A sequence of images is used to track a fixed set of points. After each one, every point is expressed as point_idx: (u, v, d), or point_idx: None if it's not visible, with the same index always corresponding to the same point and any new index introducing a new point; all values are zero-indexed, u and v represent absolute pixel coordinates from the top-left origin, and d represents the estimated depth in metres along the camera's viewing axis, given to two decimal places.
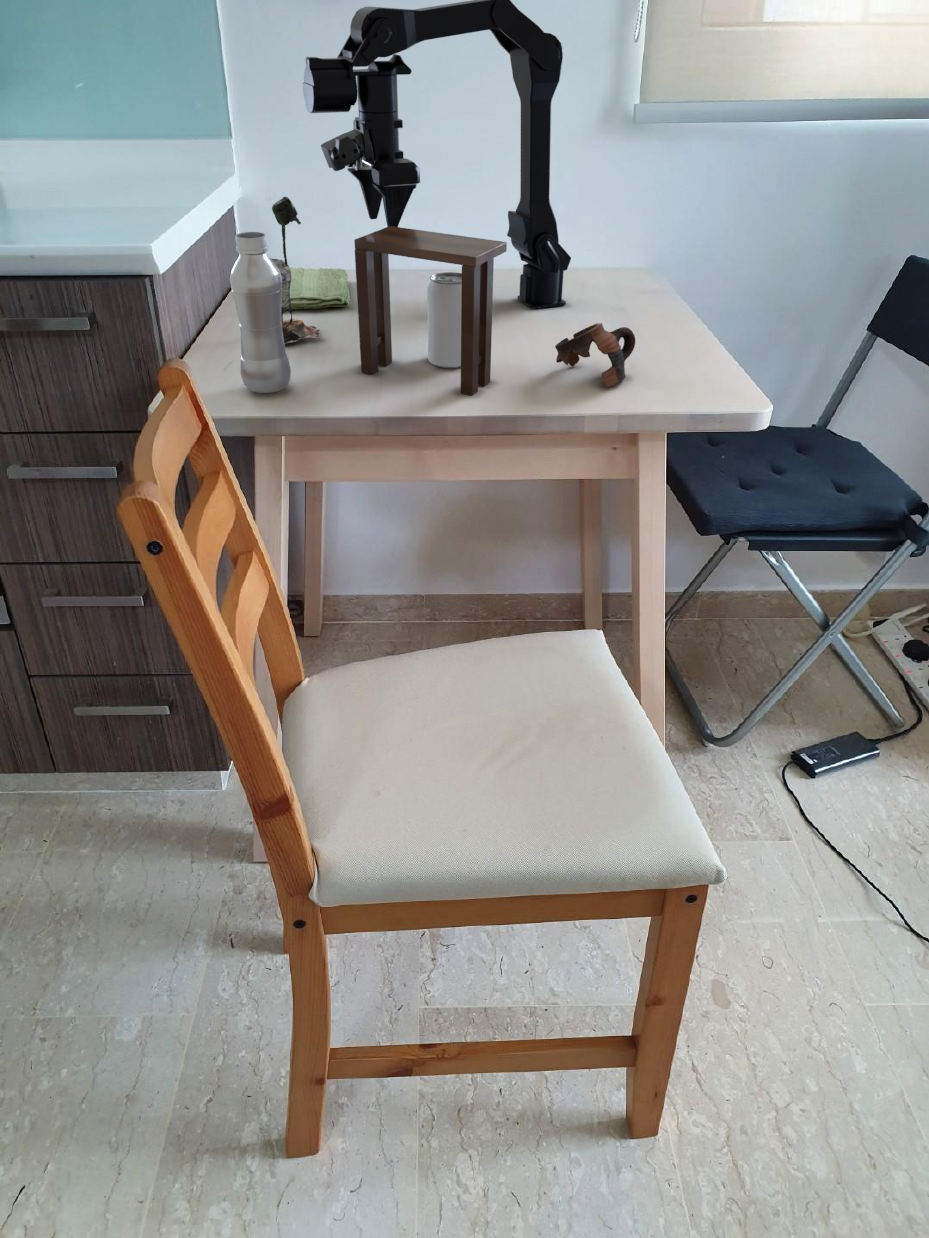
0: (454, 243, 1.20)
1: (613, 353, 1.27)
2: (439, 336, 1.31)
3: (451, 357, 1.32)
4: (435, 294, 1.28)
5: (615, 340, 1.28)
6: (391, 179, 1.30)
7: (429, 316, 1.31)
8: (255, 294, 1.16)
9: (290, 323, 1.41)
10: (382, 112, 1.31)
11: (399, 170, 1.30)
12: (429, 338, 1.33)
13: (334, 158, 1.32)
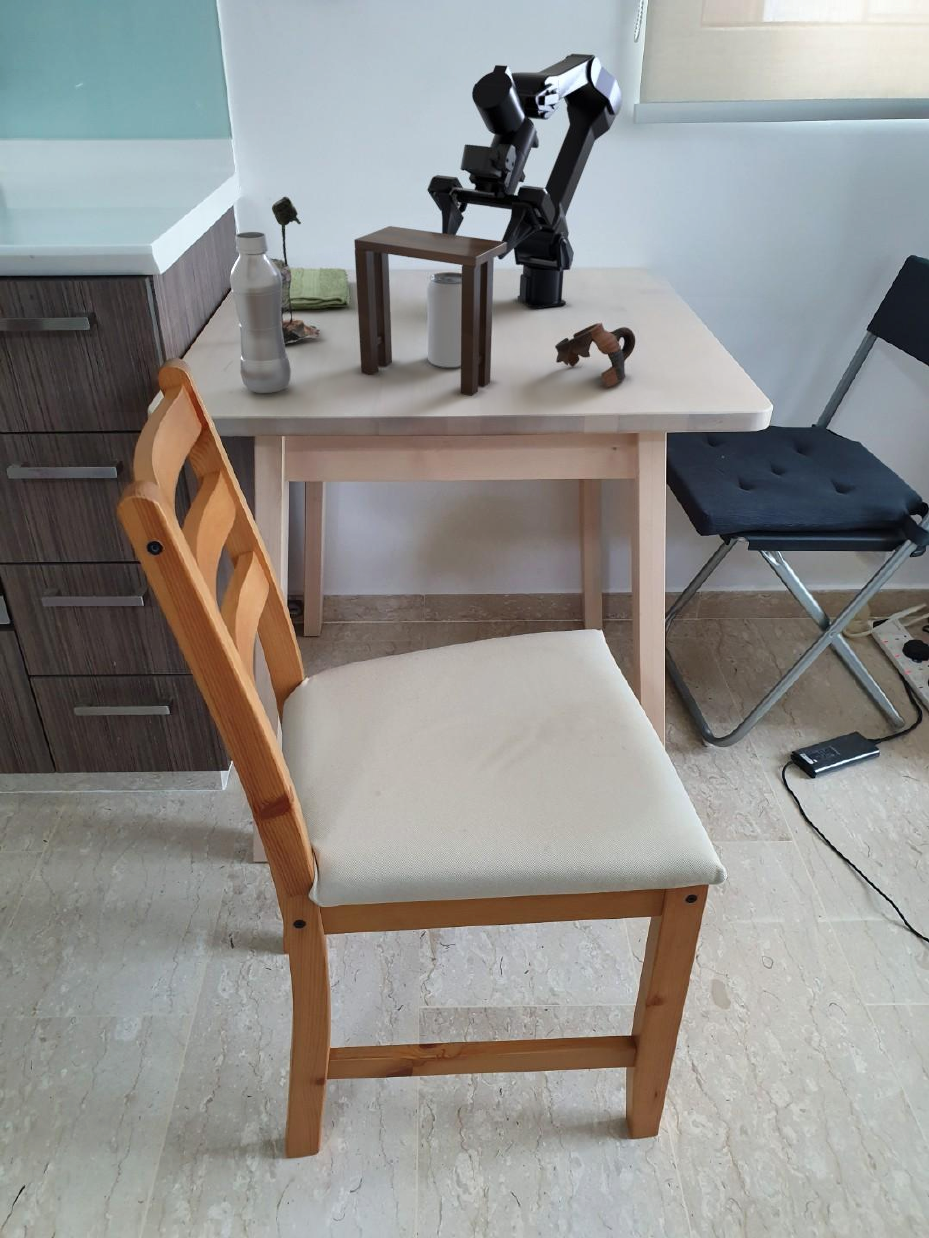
0: (454, 243, 1.20)
1: (613, 353, 1.27)
2: (439, 336, 1.31)
3: (451, 357, 1.32)
4: (435, 294, 1.28)
5: (615, 340, 1.28)
6: (545, 204, 1.30)
7: (429, 316, 1.31)
8: (255, 294, 1.16)
9: (290, 323, 1.41)
10: (524, 156, 1.34)
11: (550, 202, 1.31)
12: (429, 338, 1.33)
13: (497, 157, 1.26)
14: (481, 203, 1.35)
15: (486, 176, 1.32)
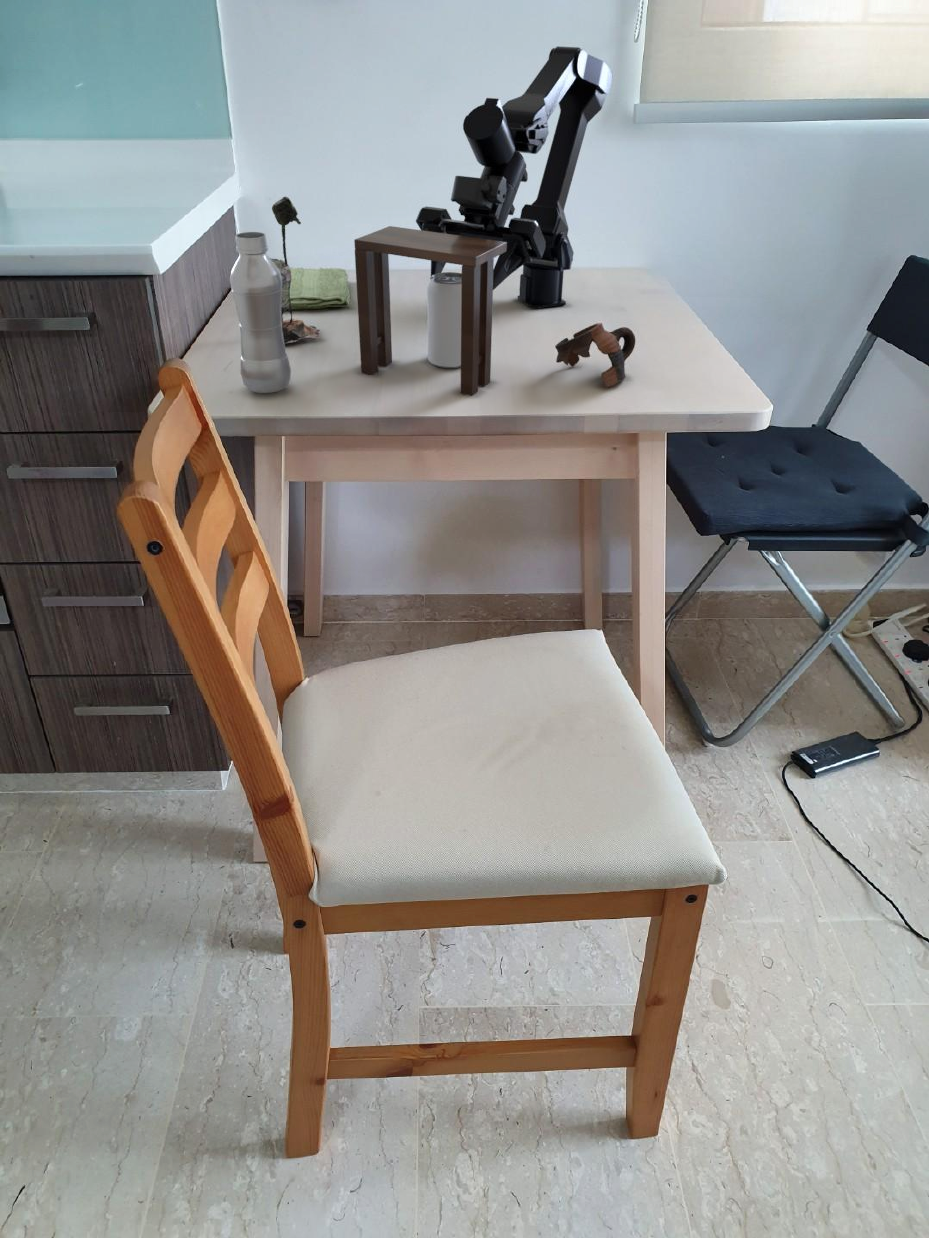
0: (454, 243, 1.20)
1: (613, 353, 1.27)
2: (439, 336, 1.31)
3: (451, 357, 1.32)
4: (435, 294, 1.28)
5: (615, 340, 1.28)
6: (536, 236, 1.28)
7: (429, 316, 1.31)
8: (255, 294, 1.16)
9: (290, 323, 1.41)
10: (514, 188, 1.33)
11: (541, 235, 1.30)
12: (429, 338, 1.33)
13: (489, 188, 1.25)
14: (471, 235, 1.34)
15: (476, 208, 1.30)
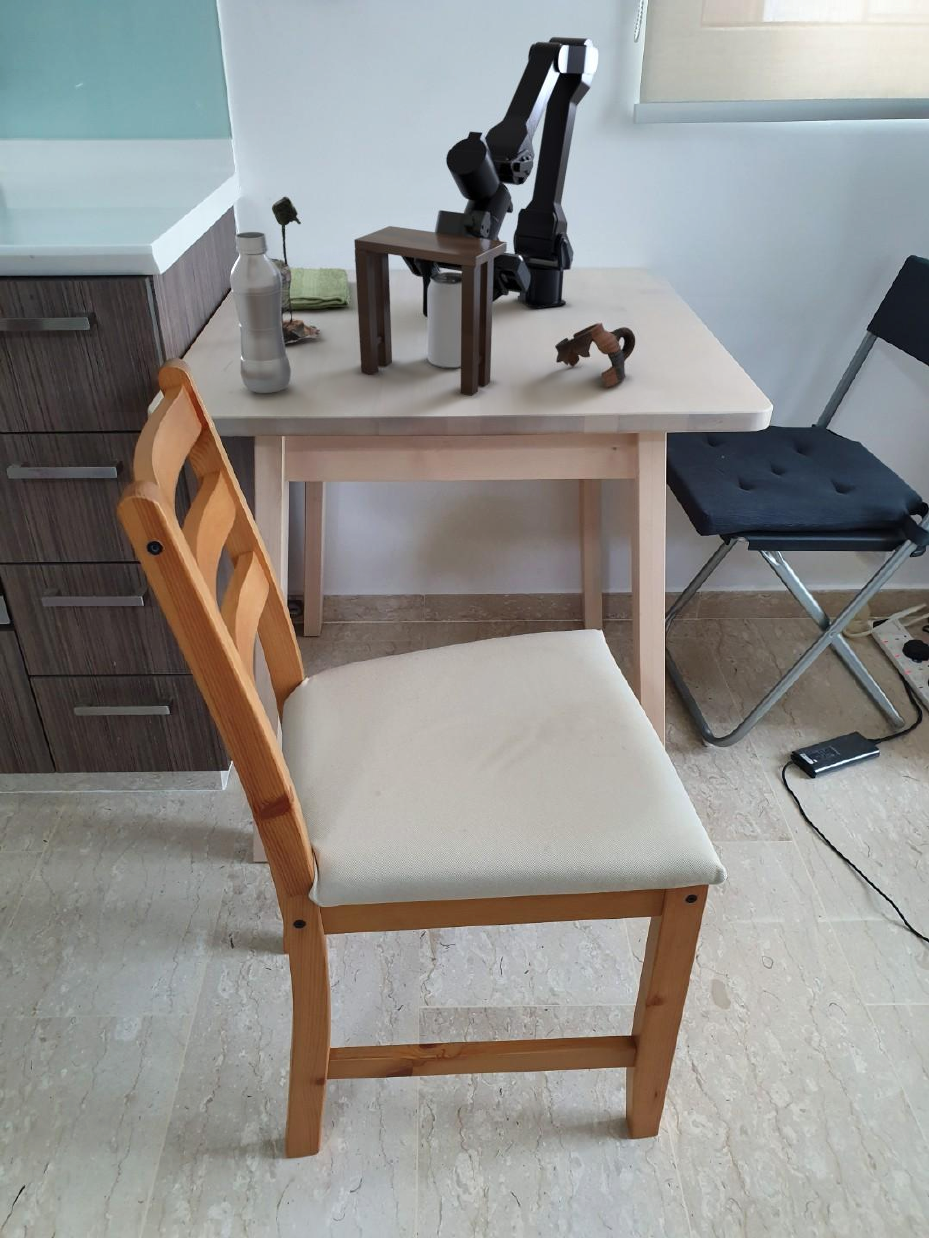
0: (454, 243, 1.20)
1: (613, 353, 1.27)
2: (439, 336, 1.31)
3: (451, 357, 1.32)
4: (435, 294, 1.28)
5: (615, 340, 1.28)
6: (521, 271, 1.27)
7: (429, 316, 1.31)
8: (255, 294, 1.16)
9: (290, 323, 1.41)
10: (499, 221, 1.31)
11: (525, 269, 1.28)
12: (429, 338, 1.32)
13: (472, 223, 1.24)
14: (455, 268, 1.32)
15: None
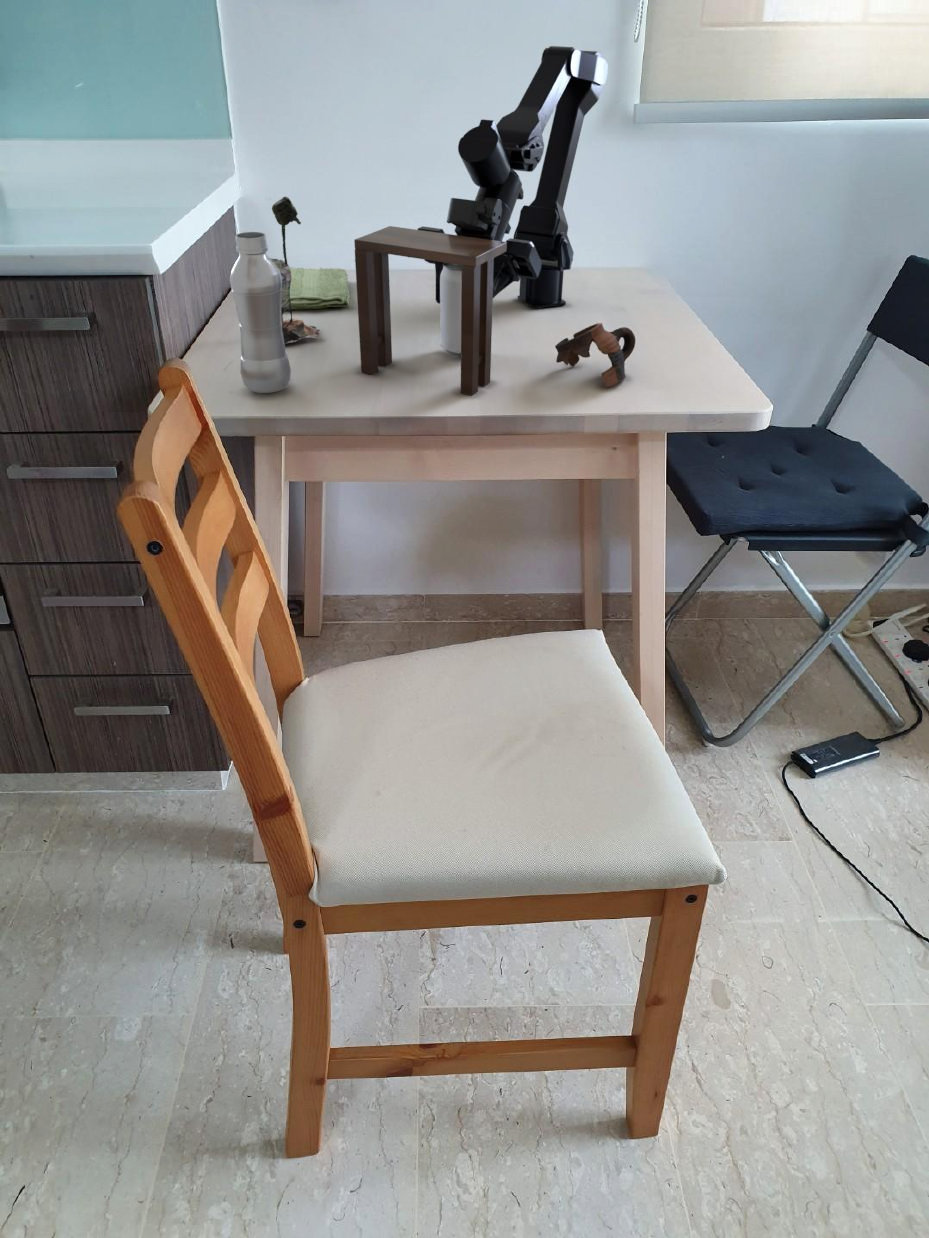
0: (454, 243, 1.20)
1: (613, 353, 1.27)
2: (452, 322, 1.33)
3: None
4: (448, 281, 1.30)
5: (615, 340, 1.28)
6: (532, 257, 1.29)
7: (442, 303, 1.33)
8: (255, 294, 1.16)
9: (290, 323, 1.41)
10: (509, 208, 1.33)
11: (536, 255, 1.30)
12: (442, 324, 1.35)
13: (484, 211, 1.26)
14: None
15: (472, 229, 1.31)
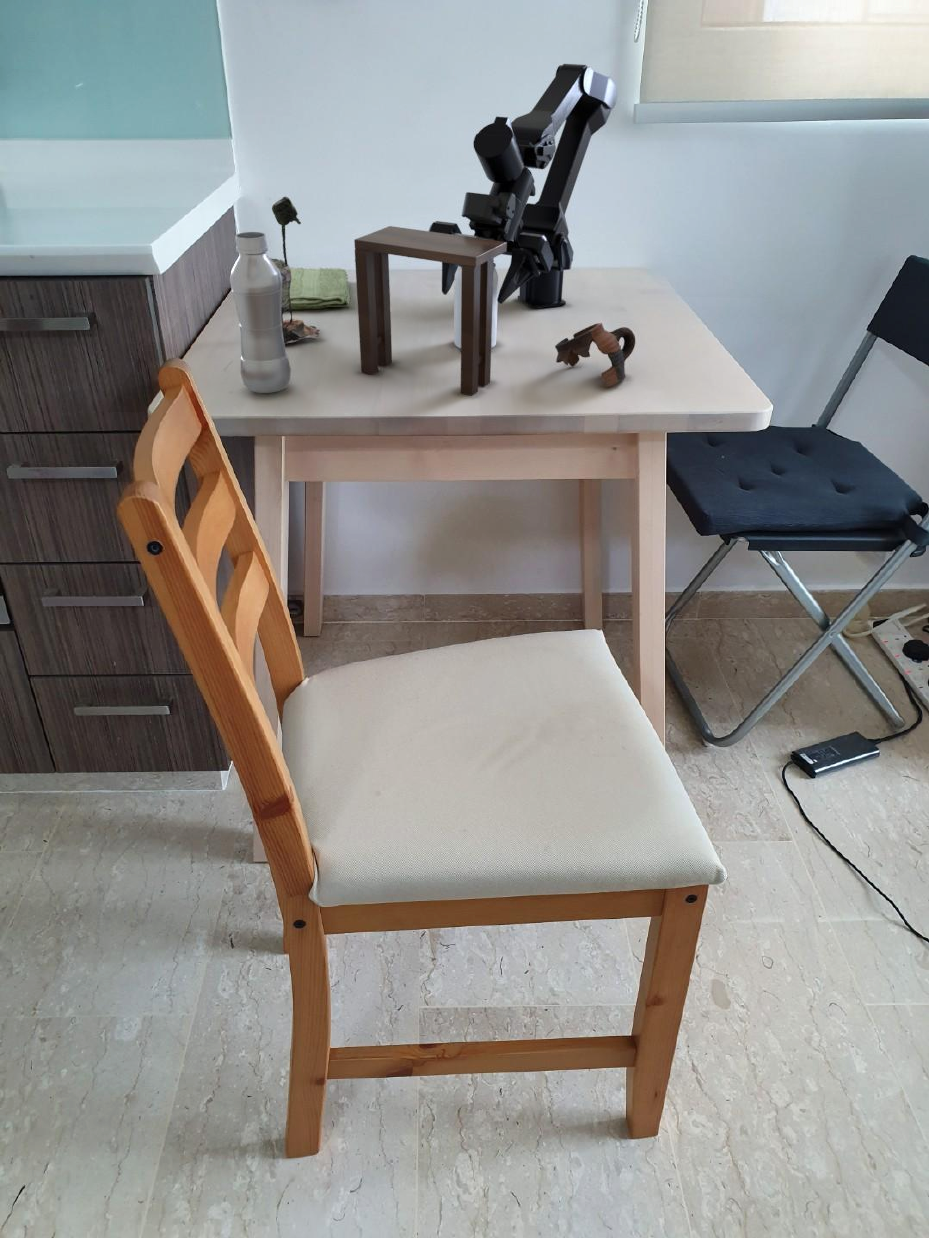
0: (454, 243, 1.20)
1: (613, 353, 1.27)
2: None
3: None
4: None
5: (615, 340, 1.28)
6: (544, 251, 1.32)
7: (456, 301, 1.36)
8: (255, 294, 1.16)
9: (290, 323, 1.41)
10: (522, 204, 1.37)
11: (549, 249, 1.34)
12: (456, 322, 1.38)
13: (499, 204, 1.29)
14: None
15: (486, 223, 1.34)
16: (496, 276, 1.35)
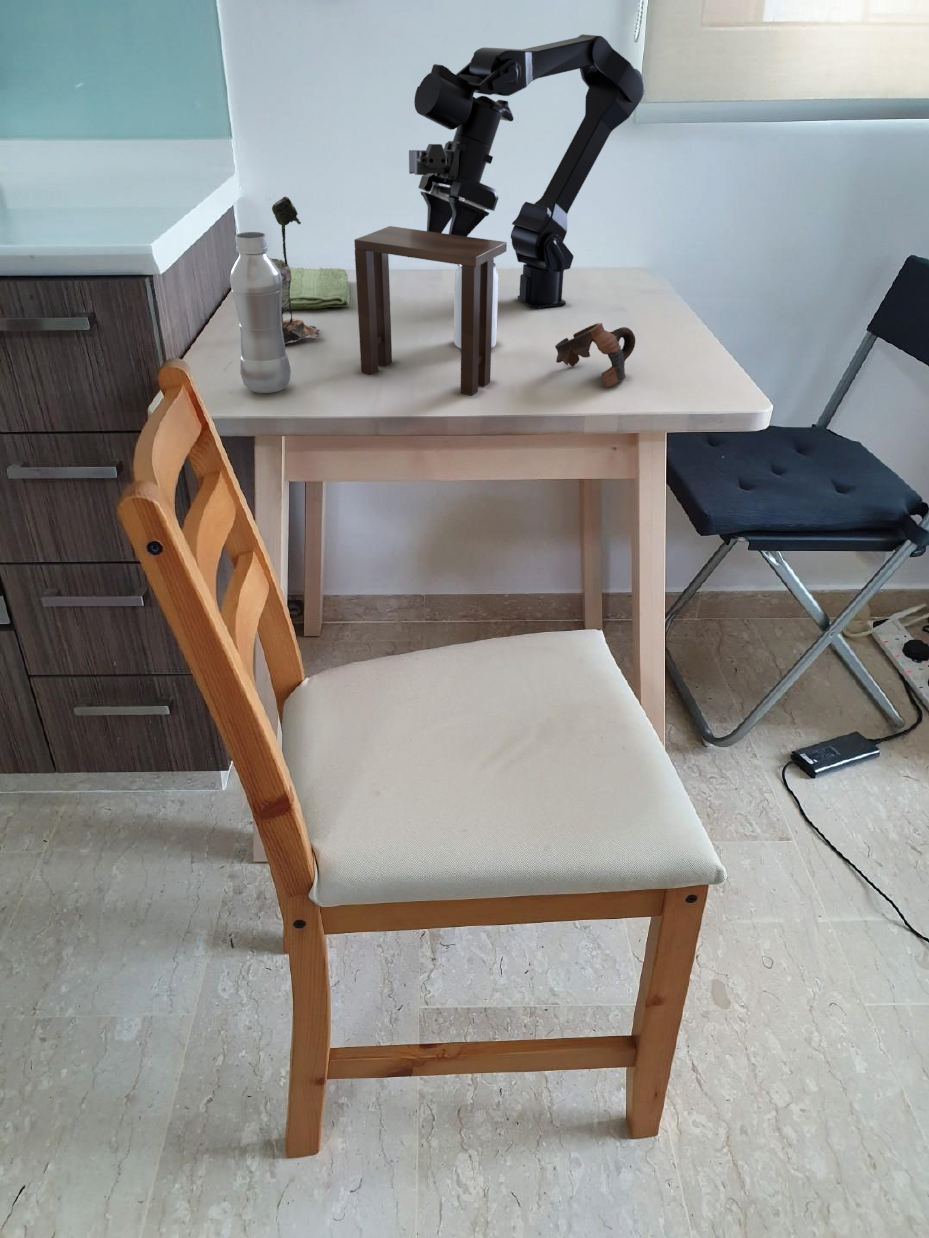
0: (454, 243, 1.20)
1: (613, 353, 1.27)
2: None
3: None
4: None
5: (615, 340, 1.28)
6: (470, 194, 1.32)
7: (456, 301, 1.36)
8: (255, 294, 1.16)
9: (290, 323, 1.41)
10: (478, 140, 1.35)
11: (480, 189, 1.32)
12: (456, 322, 1.38)
13: (421, 160, 1.33)
14: (452, 195, 1.41)
15: None
16: (496, 276, 1.35)
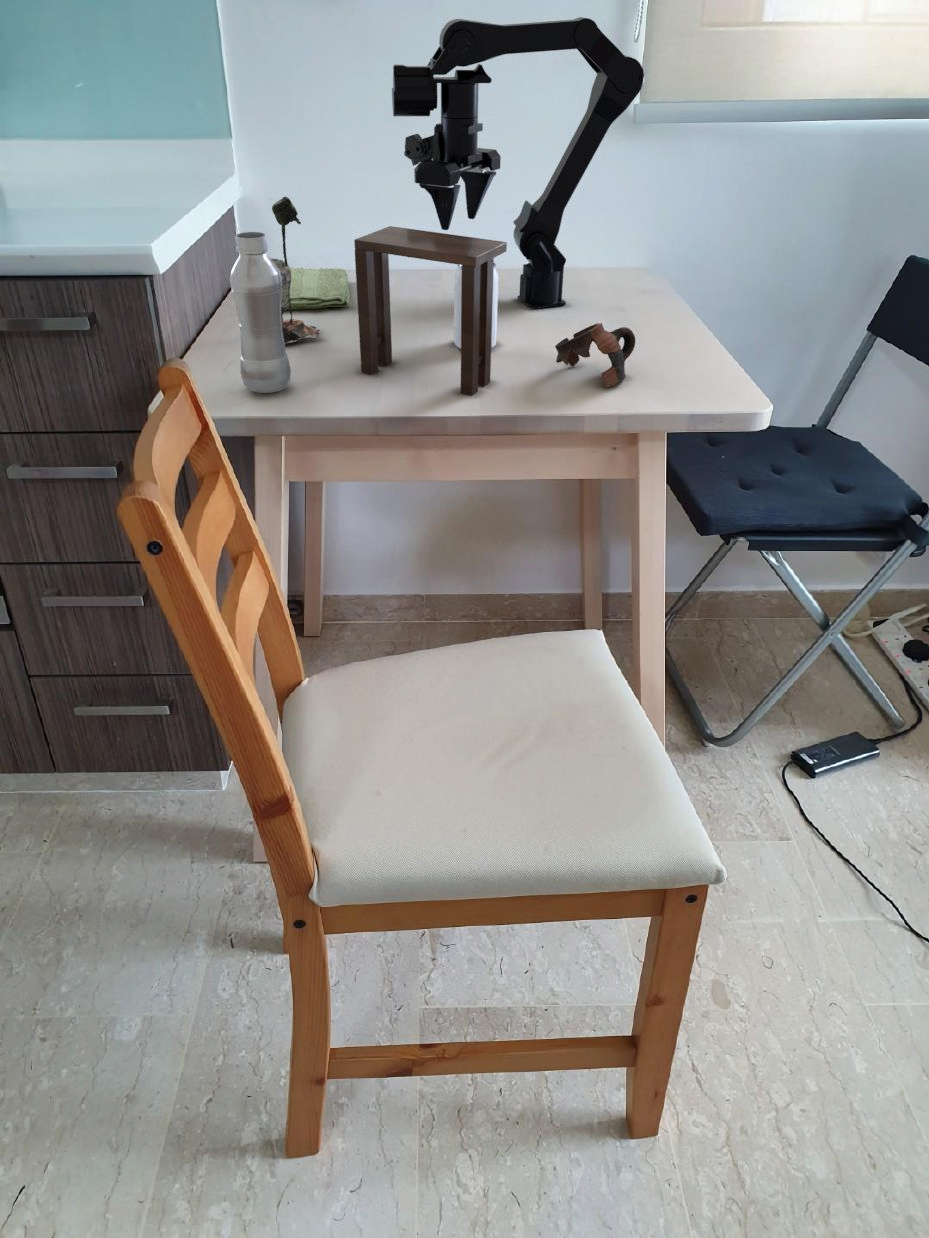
0: (454, 243, 1.20)
1: (613, 353, 1.27)
2: None
3: None
4: None
5: (615, 340, 1.28)
6: (422, 178, 1.40)
7: (456, 301, 1.36)
8: (255, 294, 1.16)
9: (290, 323, 1.41)
10: (449, 117, 1.40)
11: (429, 171, 1.39)
12: (456, 322, 1.38)
13: (405, 153, 1.46)
14: (462, 170, 1.48)
15: None
16: (496, 276, 1.35)
